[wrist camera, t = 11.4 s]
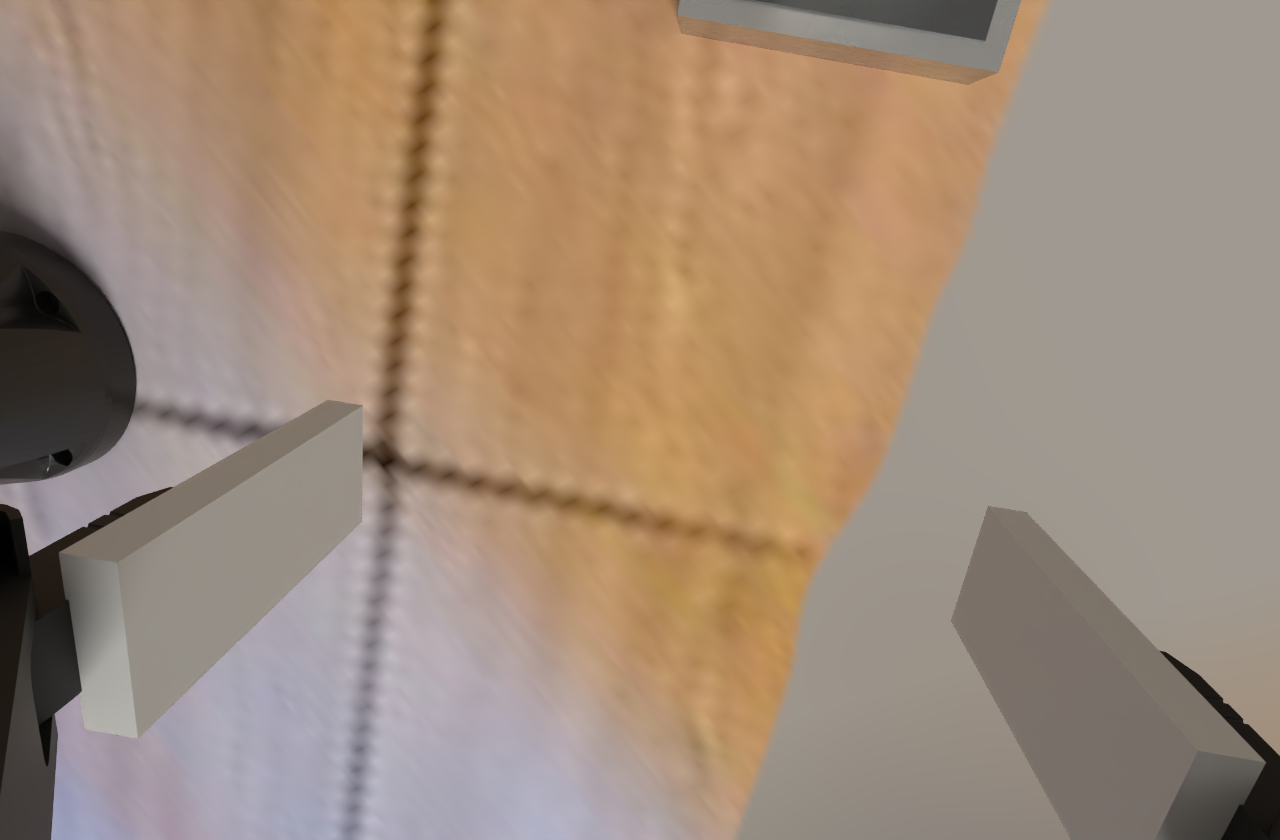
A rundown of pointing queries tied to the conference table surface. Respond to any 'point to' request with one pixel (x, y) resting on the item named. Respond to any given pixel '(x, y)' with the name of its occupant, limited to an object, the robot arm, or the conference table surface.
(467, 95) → the conference table surface
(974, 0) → the dock
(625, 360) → the conference table surface
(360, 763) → the conference table surface
